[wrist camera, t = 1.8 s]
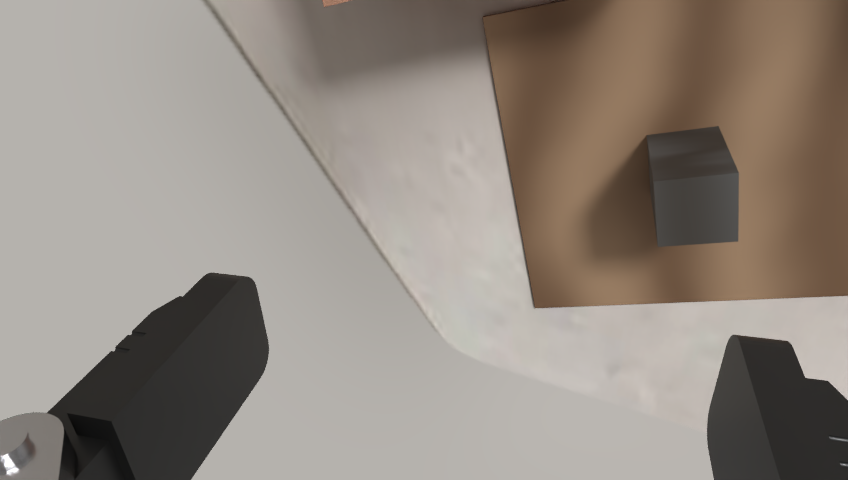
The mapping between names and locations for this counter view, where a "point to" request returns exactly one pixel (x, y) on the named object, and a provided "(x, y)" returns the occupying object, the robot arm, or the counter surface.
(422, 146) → the counter surface
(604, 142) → the lid
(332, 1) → the wooden chest box
